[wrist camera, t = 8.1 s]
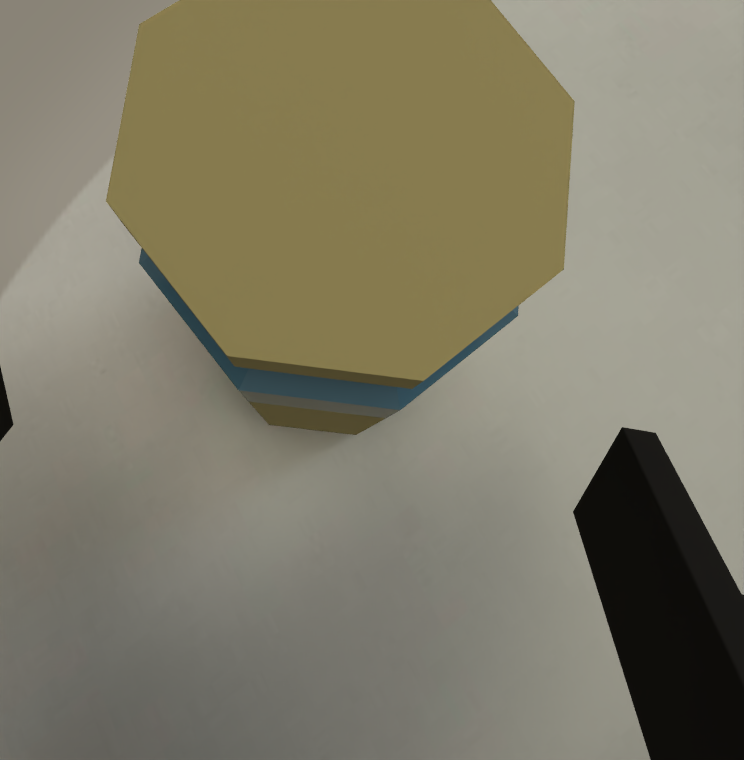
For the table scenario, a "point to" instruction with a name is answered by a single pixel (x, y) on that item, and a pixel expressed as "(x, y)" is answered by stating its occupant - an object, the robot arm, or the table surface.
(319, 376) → the jar
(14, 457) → the table surface
